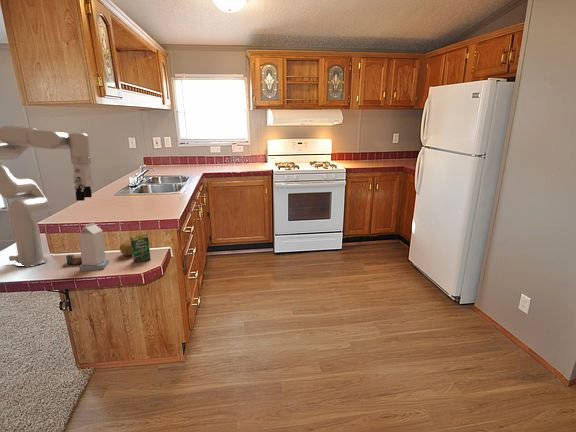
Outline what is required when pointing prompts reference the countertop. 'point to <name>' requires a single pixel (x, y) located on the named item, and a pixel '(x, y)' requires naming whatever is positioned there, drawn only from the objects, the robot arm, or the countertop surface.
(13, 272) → the countertop surface
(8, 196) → the robot arm
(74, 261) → the leg
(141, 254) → the coffee box
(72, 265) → the hinge plate
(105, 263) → the seat board
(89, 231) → the milk carton
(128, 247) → the potato
